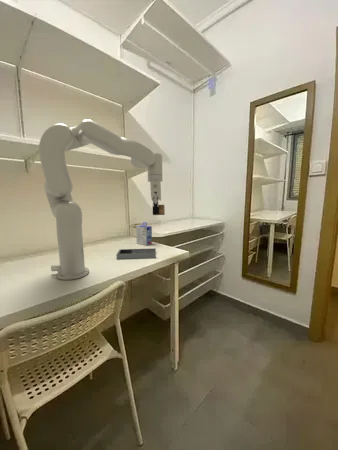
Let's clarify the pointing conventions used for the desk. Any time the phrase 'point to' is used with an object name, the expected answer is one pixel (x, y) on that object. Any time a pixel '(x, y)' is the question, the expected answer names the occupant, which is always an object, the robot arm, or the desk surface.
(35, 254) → the desk surface
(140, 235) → the ink cartridge box
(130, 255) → the dark grey tray
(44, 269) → the desk surface
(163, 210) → the walnut block
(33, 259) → the desk surface
